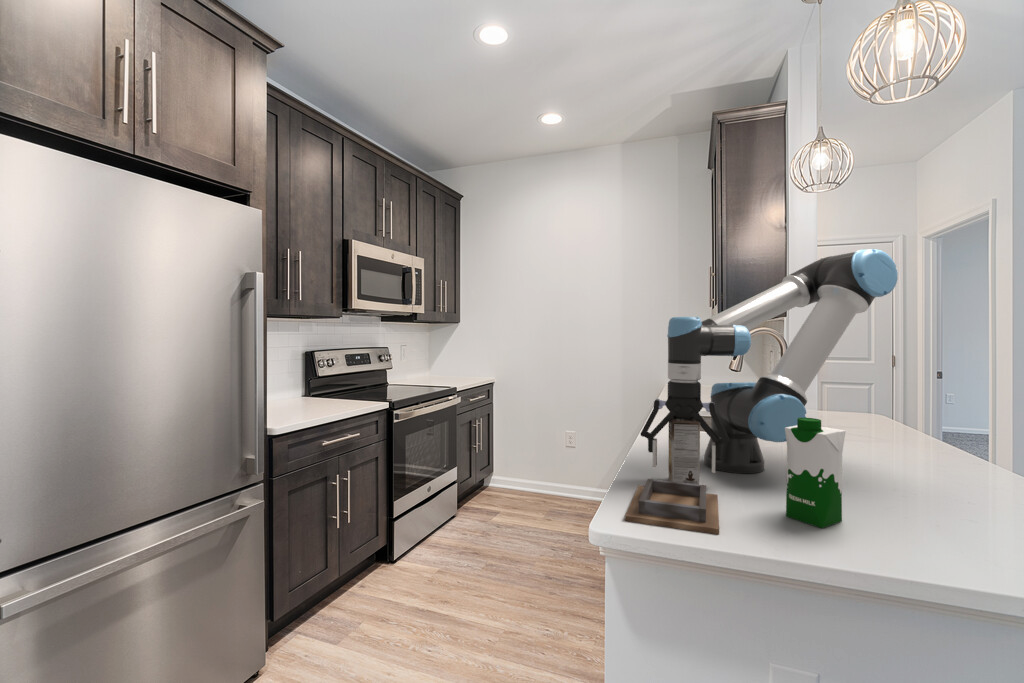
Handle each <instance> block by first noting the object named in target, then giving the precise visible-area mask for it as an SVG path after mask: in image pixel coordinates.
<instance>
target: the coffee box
mask: <svg viewBox="0 0 1024 683" xmlns="http://www.w3.org/2000/svg"><path fill="white" fill-rule="evenodd" d="M700 449H701V426H700V423H699V421H696V420H695V419H692V420H686V419H676V418H674V417H673V418H672V419H671V420H670V421H669V422H668V466H667V467H668V470H667V472H668V473H667V474H668V481H673V482H682V483H691V484H700V467H701V466H700V465H701V464H700V461H701V460H700V454H701V450H700Z"/></svg>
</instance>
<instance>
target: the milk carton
mask: <svg viewBox="0 0 1024 683" xmlns="http://www.w3.org/2000/svg"><path fill="white" fill-rule="evenodd" d="M785 434H786V494H785V496H786V499H785V500H786V503H785V504H786V506H785V508H786V509H785V517H787V518H790V519H793V520H796V521H799V522H801V523H805V524H808V525H811V526H813V527H816V528H819V529H825V528H827V527H830V526H832V525H835V523H836V524H837V523H838V524H839V523H841V522H842V521H843V510H842V509H843V505H842V504H843V501H842V500H843V499H842V498H843V496H842V495H843V451H844V446H845V445H844V443H845V437H846V430H845V429H838V428H832V427H825V426H822V419H819V418H813V417H806V418H798V419H797V425H796V426H791V427H786V428H785ZM840 521H841V522H840Z"/></svg>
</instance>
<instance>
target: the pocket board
mask: <svg viewBox="0 0 1024 683" xmlns="http://www.w3.org/2000/svg"><path fill="white" fill-rule="evenodd" d="M718 498H719V497H718V494H715V493H708V492H707V484H700V483H699V484H691V483H682V482H673V481H670V480H661V479H652V478H647V479H646V482H645V485H638V486H637V488H636V491H635V493H634V495H633V497H632V500H631V502H630V503H629V506H628V508H627V511H626V513H625V515H624V521H625V522H631V523H636V524H637V523H638V524H645V525H651V526H657V527H658V526H659V527H664V528H671V529H680V530H685V531H692V532H700V533H707V534H714V535H720V519H719V518H720V516H719V500H718Z"/></svg>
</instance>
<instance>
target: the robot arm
mask: <svg viewBox="0 0 1024 683" xmlns="http://www.w3.org/2000/svg"><path fill="white" fill-rule="evenodd" d="M898 275H899V272H898V269H897V265H896V262H895V261H894V259H893V258H892V257H891V256H890V255H889V254H888V253H887V252H885V251H883V250H880V249H875V248H870V249H865V248H864V249H858V250H856V251H853V252H852V251H851V252H848V253H843V254H837V255H830V256H825V257H822V258H820V259H818V260H817V259H816V261H813V262H811V263H810V264H807V265H805V266H804V267H802V268H800V269H798V270H796V271H794V272H792V273H790V274H788V275H786V276H784V277H783V278H782V281H781V282H780V283H778V284H776V285H774V286H772V287H770V288H768V289H766V290H764V291H762V292H760V293H758V294H756V295H754V296H752V297H749V298H747V299H745V300H743V301H741V302H739V303H737V304H735V305H733V306H731V307H729V308H727V309H725V310H723V311H721V312H719V313H717V314H714V315H713V316H711V317H708V318H707V319H704V320H702V318H701V317H700V316H674V317H671V318H670V319H669V321H668V326H667V334H666V335H667V355H668V356H667V379H668V380H669V381H668V382H667V399H666V400H660V398H655V400H654V401H653V408H652V411H651V412H650V414H649V415H648V417H647V420H646V422H645V423H644V426H643V428H642V430H641V432H640V436H641V437H644V438H646V439H647V451H648V453H651V454H652V467H653V468H656V467H657V465H658V438H656V436H657V435H658V434H659V433H660V431H661V430H662V429H663V428H665V426H667V424H669V421H670V420H671V419H672V418H673V417H674V418H676V419H686V420H692V419H695V420H696V421H699V423H700V428H702V430H704V432H705V433H706V434H707V435H708V436H709V441H708V443H707V445H706V449H705V452H704V454H703V464H704V465H705V466H707V467H708V468H711V473H712V474H716V470H717V471H722V472H726V473H733V474H757V473H762V472H763V471H764V470H765V467H766V466H765V459H764V455H763V452H762V449H761V447H760V444H759V440H758V439H760V440H763V441H765V442H773V443H784V442H786V443H787V441H786V434H785V428H786V427H791V426H796V425H797V419H798V418H807V417H806V415H807V409H806V405H807V403H808V399H807V396H806V392H807V390H808V389H809V387H810V386H811V384H812V382H813V381H814V379H815V378H816V377H817V375H818V373H819V372H820V370H821V368H822V367H823V366H824V365H825V362H826V361H827V360H828V358H829V356H830V355H831V353H832V352H833V350H834V349H835V347H836V345H837V344H838V342H839V340H840V339H841V338H842V336H843V335H844V333H845V332H846V330H847V328H848V327H849V325H850V323H851V322H852V320H853V319H854V318H855V316H856V315H857V314H862V313H865V312H867V311H868V310H869V308H870V306H871V305H872V303H873V301H874V300H875V298H881V297H884V296H887V295H888V294H891V292H893V290H894V289H895V288H896V285H897V283H898V282H897V281H898V278H899V277H898ZM814 303H815V306H814V307H813V308H812V310H811V311H810V313H809V315H808V316H807V318H806V319H805V320H804V322H803V324H802V325H801V327H800V328H799V330H798V331H797V333H796V334H795V336H794V337H793V339H792V340H791V342H790V343H789V345H788V346H787V348H786V349H785V351H784V352H783V353H782V356H781V357H780V359H779V360H778V362H777V363H776V365H775V366H774V367H773V370H772V371H771V372H770V374H766V375H763V376H762V375H761V376H760V377H759V379H757V382H756V381H755V382H754V381H753V382H750V381H749V382H745V381H744V382H742V381H741V382H716V383H714V384H713V385H712V386H711V390H710V391H711V392H710V401H709V402H703V401H702V399H701V398H702V397H701V396H702V394H701V393H702V391H701V389H702V388H701V387H702V384H701V382H699V381H700V380H701V378H702V357H707V356H708V357H709V356H711V357H715V356H716V357H738V356H745V355H746V354H747V353H748V352H749V350H750V349H751V345H752V336H751V332H750V331H749V330H751V329H753V328H755V327H757V326H759V325H762V324H763V323H766V322H768V321H770V320H772V319H773V318H776V317H777V316H780V315H782V314H783V313H786V312H788V311H790V310H792V309H794V308H804V307H806V306H809V305H810V304H814ZM664 406H665V407H666V408H667V410H668V411H669V412H668V413H667V415H666V416H664V418H662V420H661V421H660V422H659V423H658V424H657V425H656V427H654V429H652V431H651V432H649V430H650V428H651V425H652V424H653V422H654V420H655V418H656V416H657V414H658V413H659V410H662V409H663V408H664ZM703 408H704V409H705V411H706V412H707V413H709V414H710V426H709V424H708V422H706V421H705V419H704V418H703V416H702V415H701V414H700V411H701V410H702V409H703Z"/></svg>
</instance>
